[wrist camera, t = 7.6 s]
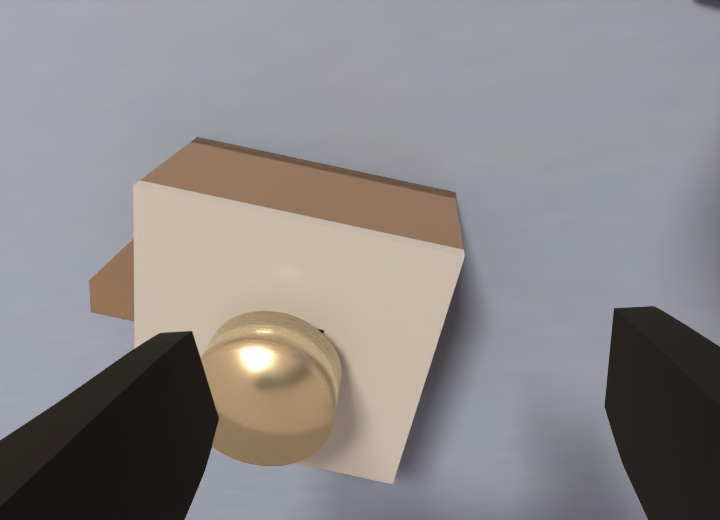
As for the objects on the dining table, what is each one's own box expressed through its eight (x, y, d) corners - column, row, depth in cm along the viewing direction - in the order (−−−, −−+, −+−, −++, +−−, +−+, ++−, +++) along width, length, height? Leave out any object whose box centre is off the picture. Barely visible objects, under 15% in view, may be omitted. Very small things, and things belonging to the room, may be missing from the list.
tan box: (455, 192, 19) (464, 256, 15) (397, 390, 23) (392, 484, 19) (146, 126, 19) (67, 171, 15) (144, 336, 23) (83, 418, 19)
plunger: (367, 252, 19) (345, 369, 14) (347, 343, 21) (320, 478, 16) (255, 228, 19) (186, 335, 14) (244, 321, 21) (181, 449, 16)
